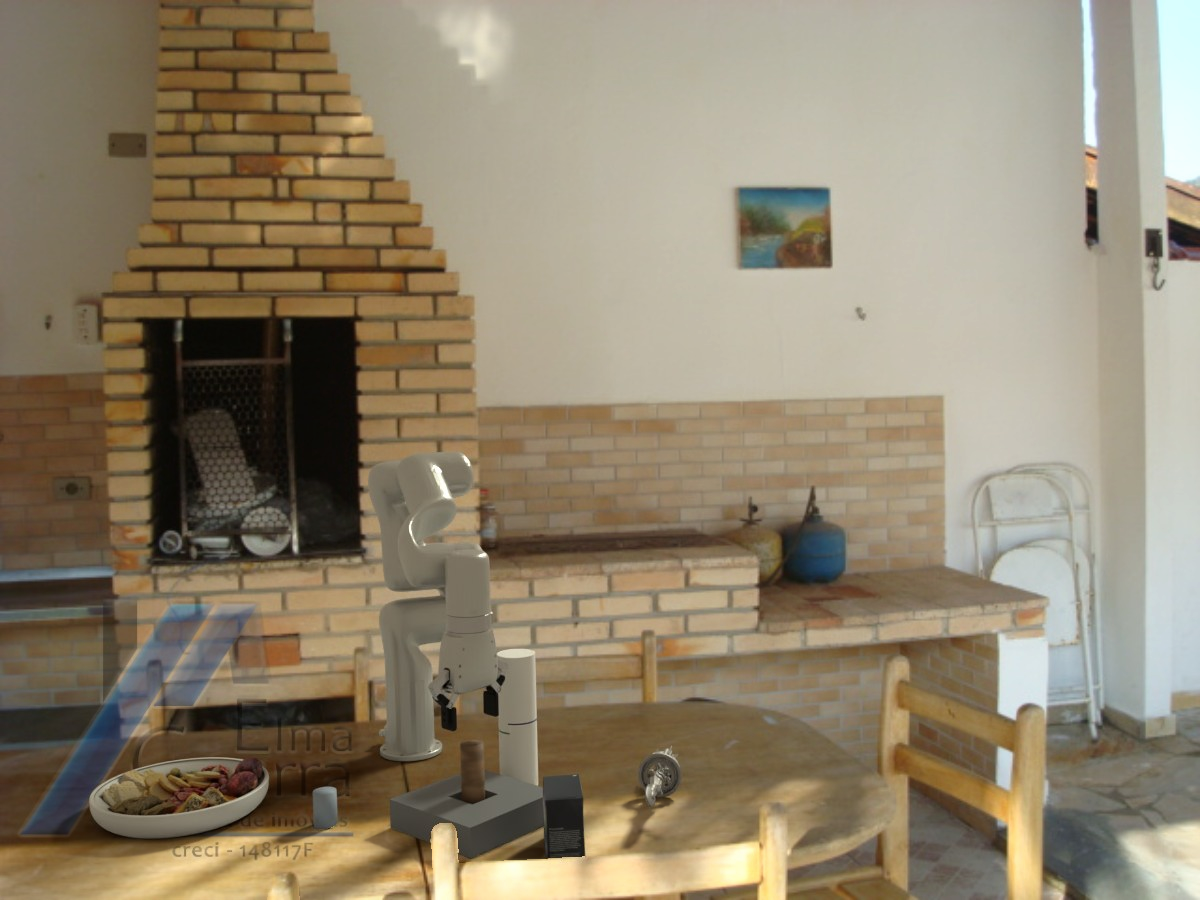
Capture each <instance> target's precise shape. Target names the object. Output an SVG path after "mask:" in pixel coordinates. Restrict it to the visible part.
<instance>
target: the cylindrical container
mask: <svg viewBox="0 0 1200 900" xmlns="http://www.w3.org/2000/svg"><path fill="white" fill-rule="evenodd" d="M497 660H499V661H502V662H504V663H507V664H508V669H507V672H506V675H505V681H504V683H503V684H502V686H501V692H500V693H498V698H499V716H497V717H498V719H497V720H498V721H497V723H498V750H499V751H498V752H499V753H498V754H499V755H498V757H499V762H498V763H499V774H500V775H503V776H507V777H510V778H513V779H517V780H520V781H523V782H527V783H530V784H533V785H537V786H539V761H538V760H539V759H538V757H539V756H538V755H539V754H538V753H539V752H538V721H537V720H538V719H537V717H538V716H537V715H538V714H537V675H536V671H537V670H536V651H535V650H533V649H527V648H510V649H509V648H508V649H504V650H501V651H498V652H497Z"/></svg>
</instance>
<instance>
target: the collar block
mask: <svg viewBox="0 0 1200 900" xmlns="http://www.w3.org/2000/svg"><path fill="white" fill-rule="evenodd" d="M484 770H485V800H483V801H480V802H478V803H475V804H473V805H472V804H469V803H466V802H463V801H462V792H461V772H459V773H457V774H455V775H451V776H449V777H446V778H444V779H441V780H438V781H435V782H433V783H429V784H428V785H424V786H422V787H419V788H417V789H414V790H411V791H408V792H405V793H403V794H400V795H398V796H395V797H392V798H390V799H389V819H390V829H392V830H394V831H397V832H399V833H403V834H406V835H408V836H410V837H414V838H415V839H419V840H421V841H423V842H426V843H428V844H431V843H430V839H431V831H432V829H433V827H434V826H435V825H437V824H439V823H452V824H453V825H454V826H455V828H456V831H457V838H458V849H459V854H458V855H460V856H463V857H466V858H469V859H473V858H475V857H478V856H480V855H483V854H484V853H486V852H489V851H491V850H493V849H496V848H498V847H500V846H502V845H504V844H506V843H509V842H512V841H513V840H515V839H518V838H520V837H522V836H525V835H527V834H528V833H531V832H533V831H536V830H537V829H540V828H542V827H544V824H543V786H539V785H538V786H537V785H533V784H530V783H527V782H523V781H520V780H517V779H513V778H510V777H507V776H503V775H500V773H496V772H495V771H494V772H493V771H491V770H490V771H489V770H486V769H484Z"/></svg>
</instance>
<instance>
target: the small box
mask: <svg viewBox="0 0 1200 900" xmlns="http://www.w3.org/2000/svg"><path fill="white" fill-rule="evenodd" d="M542 787H543V824H544V826H543V837H544V846H545V847H544V848H545V857H546V859H547V858H562V857H582V856H585V857H586V842H585V841H586V840H585V823H584V821H585V819H584V794H583V793H584V792H583V787H582V782H581V777H580V774H578V773H577V774H576V773H575V774H562V775H559V774H558V775H548V776H546V775H545V776H543V777H542Z"/></svg>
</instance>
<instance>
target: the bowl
mask: <svg viewBox="0 0 1200 900" xmlns="http://www.w3.org/2000/svg"><path fill="white" fill-rule="evenodd" d="M269 785H270V776H269V772H268V770H267V769H266V768H265V767H264V766H263V762H262V761H261V760H260V759H258V758H257V757H247V758H244V759H243V758H234V757H223V756H222V757H220V756H218V757H217V756H216V757H213V756H212V757H210V756H209V757H208V756H207V757H193V758H191V757H190V758H184V759H176V760H169V761H168V760H167V761H164V762H157V763H153V764H149V765H145V766H143V767H142V766H141V767H138V768H135V769H131V770H129V771H126V772H123V773H120V774H118V775H116V776H114V777H111V778H109V779H108V780H105V781H104V782H103V783H101V784H99V785H98V786H97V787H95V789H93V791H92V792H91V794H90V795H89V800H88V804H89V812H90V814H91V816H92V818H93V820H94V821H95V822H96V823H97V824H98V825H99V826H100V827H102V829H104V830H106V831H108V832H109V833H110V832H111V833H112V834H115V835H118V836H122V837H127V838H134V839H135V838H136V839H168V838H178V837H184V836H191V835H197V834H200V833H205V832H209V831H212V830H213V831H214V830H215V829H219V828H221V827H224V826H227V825H229V824H232V823H234V822H236V821H238V820H240V819H242V818H245V816H247V815H249V814H250V813H251V812H253V811H254V810H255V809H256V808H257V807H258V806H260V804H261V803H262V801H263V800H264V799H265V797H266V795H267V792H268V789H269Z"/></svg>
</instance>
